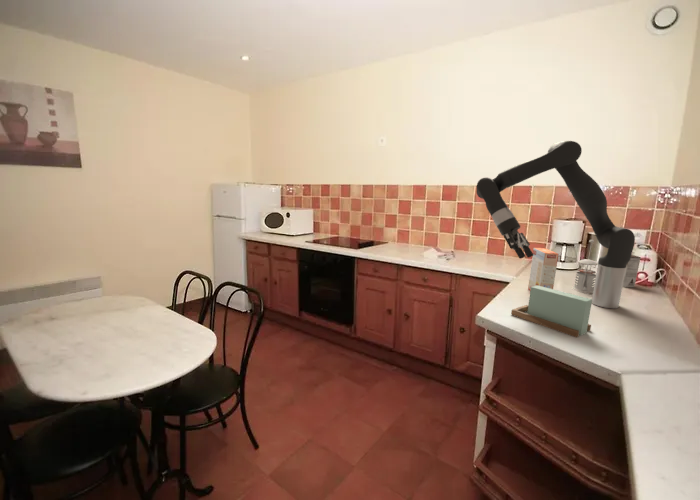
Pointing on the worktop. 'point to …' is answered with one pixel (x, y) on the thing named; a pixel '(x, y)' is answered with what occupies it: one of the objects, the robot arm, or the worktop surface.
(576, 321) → the pale green rectangular block
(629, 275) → the coffee box
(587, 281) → the french press
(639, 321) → the worktop surface
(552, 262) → the cracker box
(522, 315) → the open frame
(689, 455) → the worktop surface
